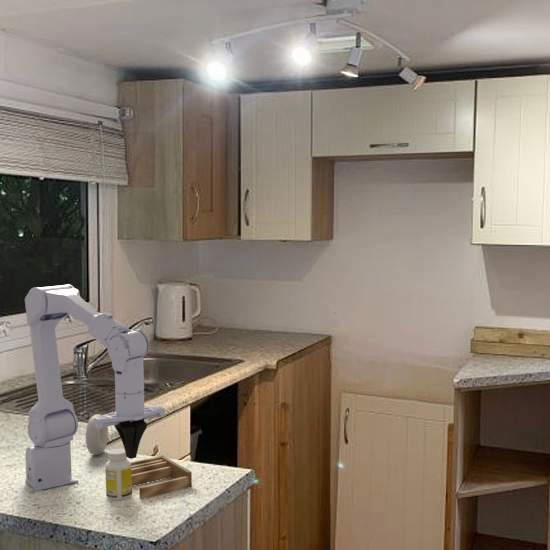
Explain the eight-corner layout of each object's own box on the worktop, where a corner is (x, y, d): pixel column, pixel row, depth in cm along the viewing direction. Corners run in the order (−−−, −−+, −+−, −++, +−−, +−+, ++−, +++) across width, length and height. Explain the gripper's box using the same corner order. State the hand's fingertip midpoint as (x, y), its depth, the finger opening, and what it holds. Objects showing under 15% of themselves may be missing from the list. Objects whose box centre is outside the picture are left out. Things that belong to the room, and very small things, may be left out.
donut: (97, 447, 192) (96, 409, 191) (110, 448, 192) (109, 409, 191) (84, 460, 182) (82, 420, 181) (97, 460, 182) (96, 420, 181)
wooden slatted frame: (141, 499, 157) (140, 483, 156) (114, 480, 168) (114, 465, 168) (191, 487, 163) (191, 471, 163) (162, 469, 175) (162, 455, 175)
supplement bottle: (132, 490, 162) (131, 446, 161) (131, 500, 156) (130, 454, 156) (106, 492, 161) (105, 448, 160) (105, 502, 155) (104, 456, 155)
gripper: (103, 400, 144) (105, 469, 145) (171, 389, 152) (172, 455, 153) (89, 393, 149) (91, 460, 150) (155, 383, 158) (156, 446, 159)
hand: (131, 456), depth 152 cm, fingers closed
